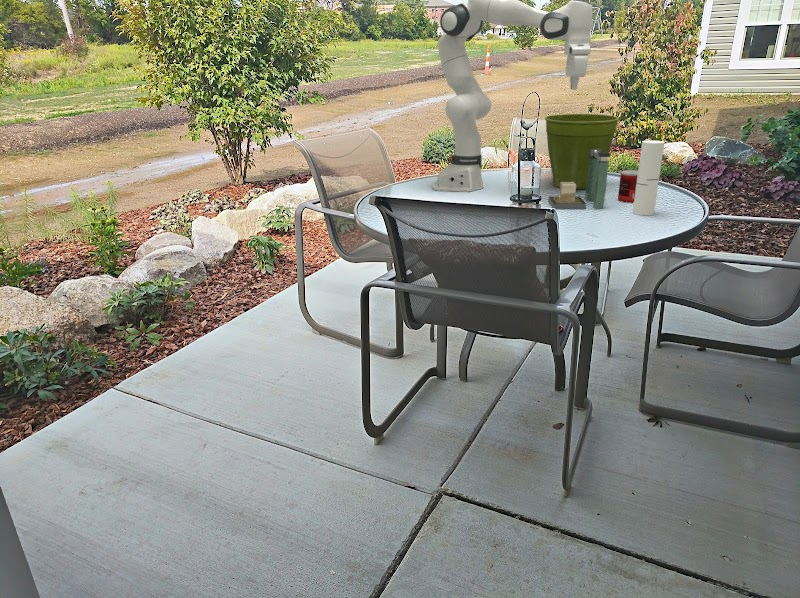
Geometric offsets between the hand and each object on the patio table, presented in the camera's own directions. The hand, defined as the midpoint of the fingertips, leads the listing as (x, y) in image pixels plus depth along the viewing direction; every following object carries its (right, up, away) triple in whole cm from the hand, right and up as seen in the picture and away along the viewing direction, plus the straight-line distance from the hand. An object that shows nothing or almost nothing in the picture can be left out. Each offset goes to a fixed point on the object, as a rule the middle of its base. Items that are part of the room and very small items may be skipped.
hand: (573, 89), depth 219 cm
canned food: (+25, -40, +11) cm, 48 cm away
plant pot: (+12, -29, +38) cm, 49 cm away
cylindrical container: (+23, -47, -7) cm, 53 cm away
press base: (+3, -41, +8) cm, 42 cm away
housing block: (-1, -40, +5) cm, 40 cm away
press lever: (+10, -26, +1) cm, 28 cm away
